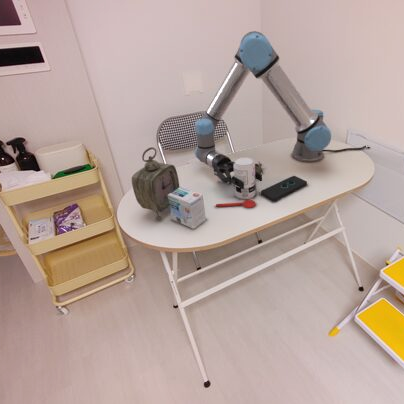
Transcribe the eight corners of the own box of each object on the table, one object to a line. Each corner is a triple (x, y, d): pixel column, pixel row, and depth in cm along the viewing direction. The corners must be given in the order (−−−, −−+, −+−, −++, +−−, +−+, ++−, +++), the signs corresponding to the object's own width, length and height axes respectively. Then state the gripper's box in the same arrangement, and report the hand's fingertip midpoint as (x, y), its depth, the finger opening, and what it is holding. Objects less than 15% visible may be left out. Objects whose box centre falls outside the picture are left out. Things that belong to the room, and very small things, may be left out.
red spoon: (215, 210, 114) (215, 207, 113) (216, 203, 118) (215, 200, 117) (255, 207, 115) (255, 205, 114) (255, 200, 119) (254, 198, 118)
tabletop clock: (160, 224, 107) (144, 159, 93) (139, 218, 109) (120, 155, 95) (182, 202, 118) (171, 142, 104) (163, 198, 121) (149, 139, 107)
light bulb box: (171, 219, 109) (166, 194, 103) (185, 210, 113) (180, 185, 107) (194, 229, 104) (189, 203, 98) (206, 219, 109) (203, 194, 103)
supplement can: (232, 192, 124) (230, 158, 116) (251, 187, 127) (250, 155, 119) (239, 201, 118) (237, 167, 110) (258, 197, 121) (258, 163, 113)
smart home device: (308, 181, 128) (274, 198, 117) (307, 185, 129) (274, 202, 118) (293, 174, 133) (259, 190, 122) (293, 178, 134) (259, 194, 123)
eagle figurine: (254, 166, 141) (240, 169, 135) (262, 157, 136) (247, 159, 130) (263, 179, 139) (248, 183, 133) (270, 170, 134) (255, 173, 128)
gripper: (239, 163, 137) (272, 181, 123) (199, 177, 126) (230, 199, 112) (238, 147, 133) (272, 164, 119) (196, 161, 122) (229, 182, 108)
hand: (252, 181), depth 115 cm, fingers closed on supplement can, 8 cm apart
